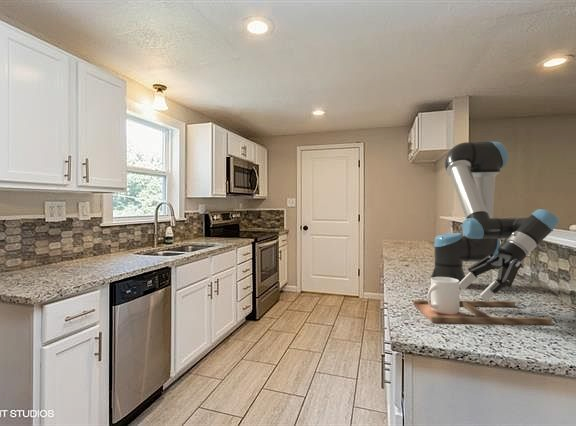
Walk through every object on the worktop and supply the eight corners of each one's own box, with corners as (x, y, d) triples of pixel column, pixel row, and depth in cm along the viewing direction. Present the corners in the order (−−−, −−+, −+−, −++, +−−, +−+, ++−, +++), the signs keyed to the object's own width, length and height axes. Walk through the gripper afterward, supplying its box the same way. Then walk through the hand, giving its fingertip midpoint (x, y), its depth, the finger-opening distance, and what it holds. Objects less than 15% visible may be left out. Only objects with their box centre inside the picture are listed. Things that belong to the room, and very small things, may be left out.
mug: (417, 310, 107) (417, 279, 107) (443, 305, 112) (443, 275, 112) (438, 318, 99) (438, 284, 99) (465, 313, 104) (465, 280, 104)
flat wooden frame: (513, 305, 113) (512, 301, 113) (551, 324, 95) (551, 319, 95) (413, 304, 116) (413, 300, 116) (432, 322, 97) (432, 317, 97)
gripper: (485, 236, 118) (445, 276, 118) (536, 244, 93) (485, 295, 93) (499, 250, 118) (459, 290, 118) (554, 262, 93) (503, 312, 93)
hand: (471, 292), depth 106 cm, fingers open, 13 cm apart
